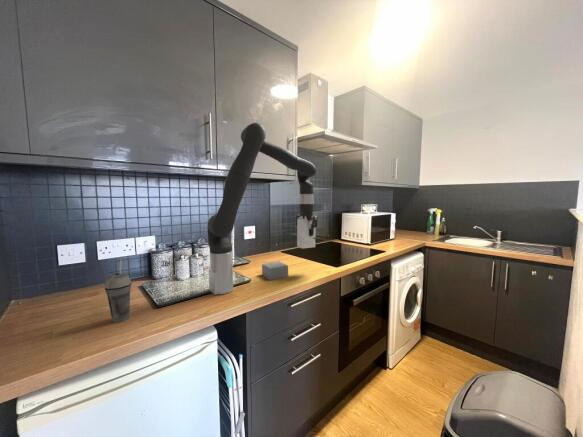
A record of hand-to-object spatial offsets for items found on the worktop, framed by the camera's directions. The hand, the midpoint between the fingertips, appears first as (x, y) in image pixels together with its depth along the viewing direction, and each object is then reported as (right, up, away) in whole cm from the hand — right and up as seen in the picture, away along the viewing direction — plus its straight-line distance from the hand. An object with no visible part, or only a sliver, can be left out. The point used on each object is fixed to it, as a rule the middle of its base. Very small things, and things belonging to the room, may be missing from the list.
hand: (306, 235), depth 121 cm
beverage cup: (-65, -25, -43) cm, 82 cm away
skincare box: (0, -7, +1) cm, 7 cm away
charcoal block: (-16, -21, 0) cm, 27 cm away
